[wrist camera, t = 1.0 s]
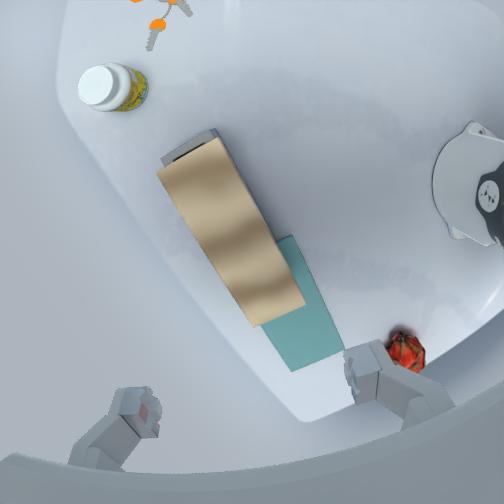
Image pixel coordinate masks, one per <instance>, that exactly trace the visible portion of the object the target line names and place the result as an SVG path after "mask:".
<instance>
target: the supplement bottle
mask: <svg viewBox="0 0 504 504" xmlns="http://www.w3.org/2000/svg"><path fill="white" fill-rule="evenodd" d="M147 91H148V83H147V80H146V78H145V77H144V76H143V74H141V73H140V72H138V71H136V70H133V69H131V68H128V67H126V66H123V65H120V64H117V63H106V64H103V65H100V66H94V67H91V68H89V69H88V70H87V71H86V72H84V74H83V75H82V76H81V78H80V80H79V83H78V95H79V97H80V99H81V100H82V101H83V102H84V103H86V104H88V105H90V106H91V107H92V108H93V109H95V110H98V111H103V112H107V111H131V110H133V109H135V108H137V107H138V106H140V105H141V104H142V102H143V101H144V99H145V97H146V95H147Z"/></svg>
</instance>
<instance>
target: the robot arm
mask: <svg viewBox="0 0 504 504" xmlns="http://www.w3.org/2000/svg"><path fill="white" fill-rule="evenodd" d="M479 131H480V134H479ZM433 195H434V200H435V204H436V206H437V209H438V211H439V212H440V214H441V215H442V217H443V218H444V219H445V220H446V222H447V224H448V228H449V232H450V235H451V237H452V238H454V239H456V240H460V239H466V238H471V239H472V240H474V241H476V242H478V243H479V244H481V245H483V246H486V247H487V246H488V245H493V244H496V243H497V244H499V245H500V246H501V247H502V248H503V249H504V140H501V139H499V138H498V137H497V136H496V135H494V134H493V133H492V132H490V131H489V130H488V129H486V128H485V127H483V126H482V125H481V124H479V123H477V122H474V121H471V122H470V123H469V124H468V125H467V127H466V128H465V130H464V131H463V133H461V134H460V135H458V136H457V137H455V138H453V139H452V140H450V141H449V142H448V143H447V144H446V145H445V147H444V148H443V150H442V151H441V153H440V155H439V157H438V159H437V162H436V165H435V169H434V174H433ZM343 357H344V359H345V363H344V371H345V376H346V380H347V383H348V385H349V386H351V391H352V396H353V398H354V401H355V404H356V405H359V404H362V403H366V402H369V401H373V400H376V401H378V402H379V403H381V404H382V405H383V406H385V407H386V408H388V409H389V410H390V411H392V412H393V413H395V414H396V415H398V416H399V417H401V418H402V419H404V422H403V425H402V428H401V431H400V432H397V433H394V434H391V435H389V436H386V437H383V438H380V439H377V440H374V441H372V442H368V443H365V444H363V445H359V446H356V447H352V448H349V449H345V450H342V451H338V452H335V453H331V454H327V455H323V456H318V457H314V458H310V459H305V460H301V461H295V462H290V463H285V464H279V465H273V466H267V467H260V468H254V469H246V470H236V471H225V472H212V473H192V474H150V473H131V472H126V471H125V470H123V469H122V468H121V465H122V464H123V463H124V462H125V460H126V459H127V458H128V456H129V455H130V454H131V452H132V451H133V450H134V448H135V447H136V446H137V444H138V443H139V442H140V440H141V438H158V434H159V428H160V425H159V424H158V421H159V420H160V418H161V416H162V407H161V404H160V401H159V400H158V398H156V397H154V396H153V395H152V394H153V391H152V390H151V388H150V387H147V386H146V387H128V388H118V389H117V390H116V392H115V395H114V398H113V401H112V404H111V407H110V410H109V413H108V415H105V416H104V417H103V418H102V419H101V420H100V421H99V422H97V423H96V424H95V425H94V426H93V427H92V428H91V429H90V430H89V431H88V432H87V433H86V434H85V435H84V436H83V437H81V438H80V439H79V440H78V441H77V442H76V443H75V444H74V446H73V449H72V451H71V455H70V458H69V461H68V464H61V463H56V462H52V461H47V460H43V459H38V458H34V457H30V456H27V455H23V454H19V453H12V454H10V455H9V456H7V457H6V458H4V459H3V460H2V461H1V462H0V504H504V379H503V380H502V381H500V382H499V383H497V384H495V385H494V386H492V387H490V388H489V389H487V390H485V391H484V392H482V393H480V394H478V395H477V396H475V397H473V398H471V399H469V400H467V401H466V402H464V403H462V404H460V405H458V406H455V404H454V402H453V401H452V399H451V398H450V396H449V394H448V393H447V391H446V389H445V388H444V386H443V385H441V384H439V383H437V382H435V381H432V380H430V379H428V378H426V377H424V376H421V375H419V374H417V373H415V372H413V371H411V370H409V369H407V368H405V367H402V366H400V365H394V363H393V361H392V359H391V358H390V356H389V354H388V353H387V351H386V349H385V347H384V346H383V344H382V342H381V341H380V340H379V339H378V340H375V341H371V342H368V343H365V344H362V345H359V346H355V347H352V348H349V349H345V350H344V352H343Z"/></svg>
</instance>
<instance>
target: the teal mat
mask: <svg viewBox="0 0 504 504" xmlns="http://www.w3.org/2000/svg"><path fill="white" fill-rule="evenodd" d="M276 243H277V245H278V247H279V249H280V251H281V253H282V255H283V257H284V259H285V261H286V263H287V265H288V267H289V268H290V270H291V272H292V274H293V276H294V278H295V280H296V282H297V284H298V286H299V288H300V290H301V292H302V294H303V296H304V299H305V302H306V305H304V306H302V307H300V308H298V309H295V310H293V311H291V312H289V313H286V314H284V315H282V316H280V317H277V318H275V319H273V320H270V321H268V322H266V323H263V324H261V327H262V328H263V330H264V332H265V333H266V335H267V336H268V338H269V339H270V341H271V342H272V344H273V345H274V347H275V348H276V350H277V351H278V353H279V354H280V356H281V357H282V359H283V360H284V362H285V363H286V365H287V366H288V368H289V369H290V371H291V372H293V371H295V370H298V369H300V368H303V367H305V366H308V365H310V364H312V363H315V362H317V361H320V360H322V359H324V358H327V357H329V356H331V355H333V354H336V353H338V352H340V351H342V350H345V348H344V346H343V343H342V341H341V339H340V337H339V334H338V332H337V330H336V328H335V325H334V323H333V321H332V319H331V317H330V314H329V312H328V310H327V308H326V306H325V303H324V301H323V299H322V297H321V295H320V293H319V290H318V288H317V286H316V284H315V282H314V280H313V278H312V276H311V273H310V271H309V269H308V267H307V265H306V263H305V261H304V259H303V257H302V255H301V253H300V251H299V249H298V246H297V244H296V242H295V240H294V238H293V236H292V235H290V236H288V237H286V238H284V239H282V240H280V241H278V242H276Z"/></svg>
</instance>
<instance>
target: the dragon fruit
mask: <svg viewBox="0 0 504 504" xmlns="http://www.w3.org/2000/svg"><path fill="white" fill-rule="evenodd" d="M391 341H392V342H393V345H392V346H391V348H390V349H386V351H387V353H388V354H389V356H390V358H391V359H392V361H393V363H394V365H400V366H402V367H405V368H407V369H409V370H411V371H413V372H415V373H417V374H418V373H419V371H420V370H422V369H423V368H424V367H425V363H426V362H425V349H424V347H423V346H422V345H421V343H420V342H419V340H418V339H417V337H415V338H414V337H412V336H409V335H404V334H403V333H402V332H400V334H395V335H394V337H393V338H391V340H390V344H391Z"/></svg>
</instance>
